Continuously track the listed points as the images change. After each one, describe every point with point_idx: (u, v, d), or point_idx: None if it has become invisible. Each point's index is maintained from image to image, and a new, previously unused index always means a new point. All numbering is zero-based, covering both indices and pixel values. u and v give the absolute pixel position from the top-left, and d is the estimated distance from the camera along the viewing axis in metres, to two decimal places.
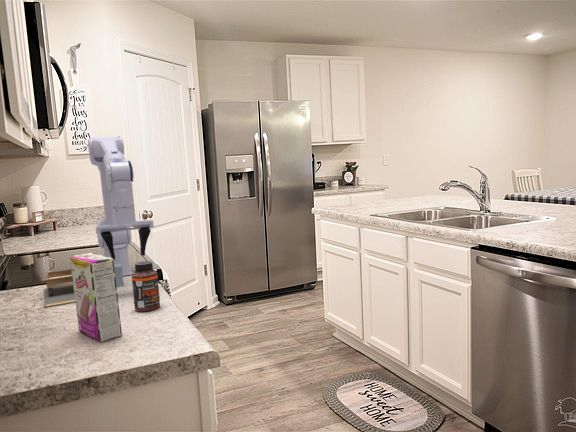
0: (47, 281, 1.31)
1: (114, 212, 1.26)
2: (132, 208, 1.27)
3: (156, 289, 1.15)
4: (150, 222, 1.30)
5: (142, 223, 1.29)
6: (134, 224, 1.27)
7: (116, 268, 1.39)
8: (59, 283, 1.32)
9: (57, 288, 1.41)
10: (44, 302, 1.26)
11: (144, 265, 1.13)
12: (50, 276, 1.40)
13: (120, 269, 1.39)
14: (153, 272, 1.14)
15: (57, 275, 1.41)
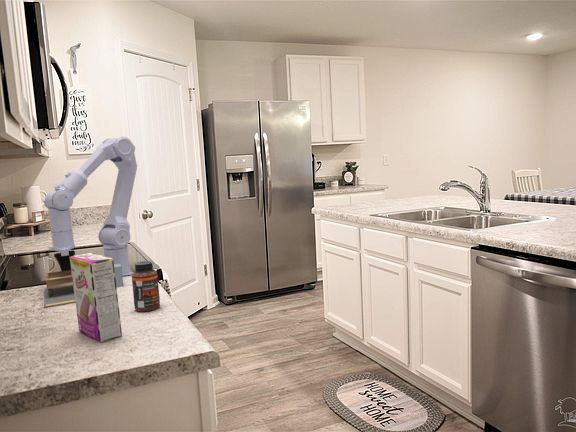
0: (47, 282, 1.30)
1: None
2: (55, 234, 1.39)
3: (156, 289, 1.15)
4: (60, 250, 1.36)
5: (57, 249, 1.38)
6: (54, 248, 1.39)
7: (116, 268, 1.39)
8: (59, 284, 1.31)
9: (57, 288, 1.41)
10: (44, 302, 1.26)
11: (144, 265, 1.13)
12: (50, 277, 1.40)
13: (120, 269, 1.39)
14: (153, 272, 1.14)
15: (57, 276, 1.40)
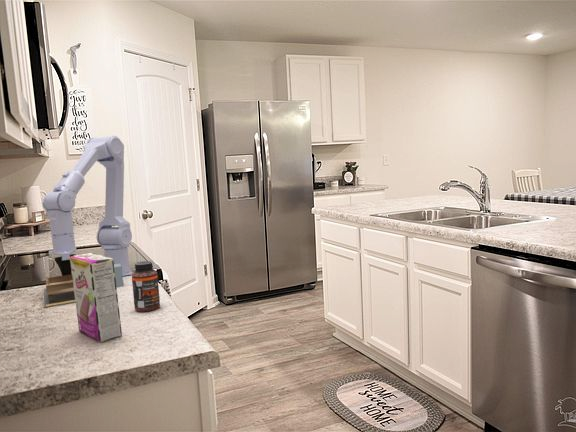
0: (47, 287, 1.23)
1: None
2: (55, 237, 1.32)
3: (156, 289, 1.15)
4: (61, 254, 1.29)
5: (58, 253, 1.31)
6: (55, 252, 1.33)
7: (116, 268, 1.39)
8: (60, 289, 1.25)
9: None
10: (44, 302, 1.26)
11: (144, 265, 1.13)
12: (50, 281, 1.33)
13: (120, 269, 1.39)
14: (153, 272, 1.14)
15: (58, 280, 1.34)
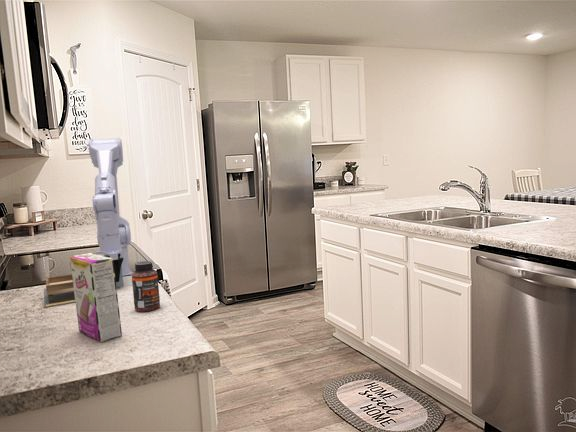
0: (47, 287, 1.24)
1: None
2: (103, 237, 1.37)
3: (156, 289, 1.15)
4: (109, 254, 1.33)
5: (106, 253, 1.35)
6: (102, 252, 1.37)
7: None
8: (60, 289, 1.25)
9: None
10: (44, 302, 1.26)
11: (144, 265, 1.13)
12: (50, 281, 1.33)
13: (120, 269, 1.39)
14: (153, 272, 1.14)
15: (58, 280, 1.34)
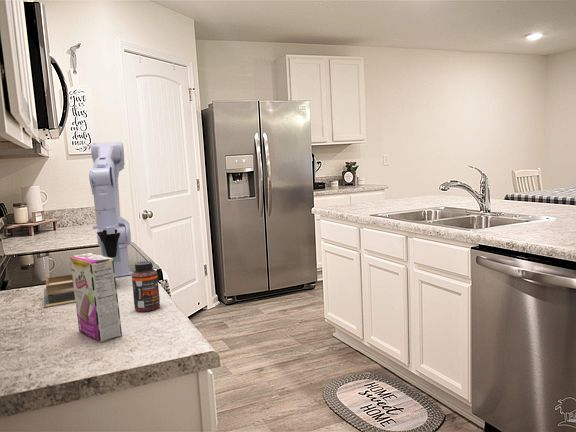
0: (47, 287, 1.24)
1: None
2: (99, 212, 1.36)
3: (156, 289, 1.15)
4: (106, 228, 1.33)
5: (103, 228, 1.34)
6: (99, 227, 1.36)
7: None
8: (60, 289, 1.25)
9: None
10: (44, 302, 1.26)
11: (144, 265, 1.13)
12: (50, 281, 1.33)
13: (117, 244, 1.38)
14: (153, 272, 1.14)
15: (58, 280, 1.34)
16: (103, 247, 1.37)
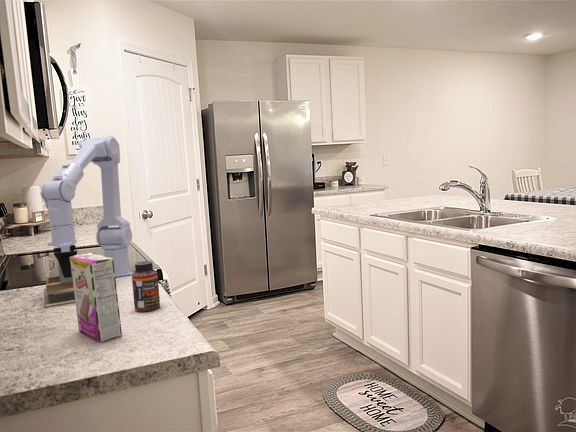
0: (47, 287, 1.24)
1: None
2: (54, 228, 1.26)
3: (156, 289, 1.15)
4: (60, 246, 1.23)
5: (57, 245, 1.25)
6: (54, 244, 1.27)
7: None
8: (60, 289, 1.25)
9: None
10: (44, 302, 1.26)
11: (144, 265, 1.13)
12: (50, 281, 1.33)
13: None
14: (153, 272, 1.14)
15: (58, 280, 1.34)
16: (59, 269, 1.27)
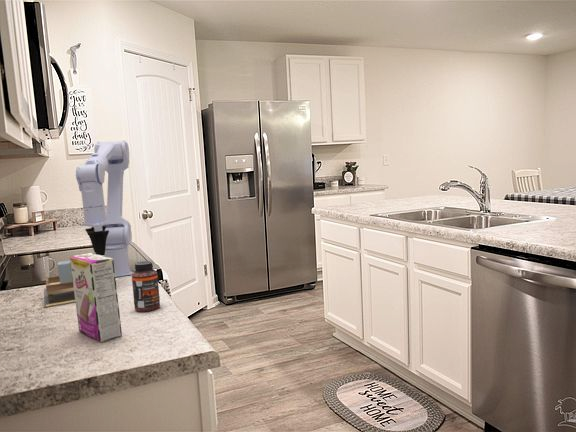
0: (47, 287, 1.24)
1: None
2: (87, 209, 1.34)
3: (156, 289, 1.15)
4: (93, 226, 1.31)
5: (90, 225, 1.33)
6: (87, 224, 1.34)
7: None
8: (60, 289, 1.25)
9: None
10: (44, 302, 1.26)
11: (144, 265, 1.13)
12: (50, 281, 1.33)
13: None
14: (153, 272, 1.14)
15: (58, 280, 1.34)
16: (59, 269, 1.28)
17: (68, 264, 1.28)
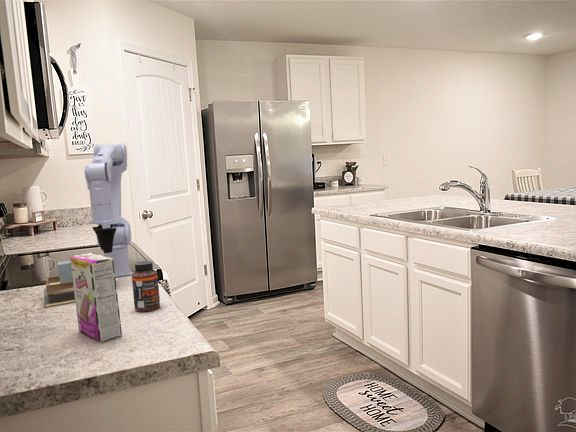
0: (47, 287, 1.24)
1: None
2: (95, 207, 1.36)
3: (156, 289, 1.15)
4: (101, 223, 1.33)
5: (98, 222, 1.34)
6: (94, 222, 1.36)
7: None
8: (60, 289, 1.25)
9: None
10: (44, 302, 1.26)
11: (144, 265, 1.13)
12: (50, 281, 1.33)
13: None
14: (153, 272, 1.14)
15: (58, 280, 1.34)
16: (59, 269, 1.28)
17: (68, 264, 1.28)
